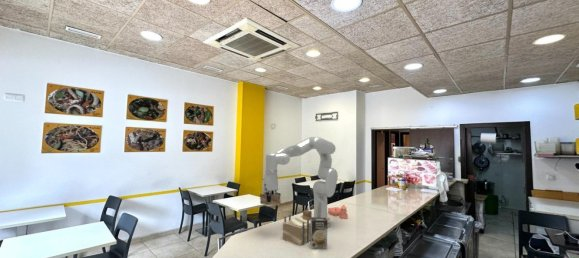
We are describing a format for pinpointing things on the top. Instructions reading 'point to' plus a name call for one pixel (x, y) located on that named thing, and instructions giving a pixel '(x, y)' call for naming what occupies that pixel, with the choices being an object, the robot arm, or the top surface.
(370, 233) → the top surface
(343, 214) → the pink lumpy piece
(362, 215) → the top surface
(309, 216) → the lid
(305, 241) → the open wooden box
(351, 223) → the top surface
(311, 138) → the robot arm
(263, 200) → the plank
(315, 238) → the coffee box
